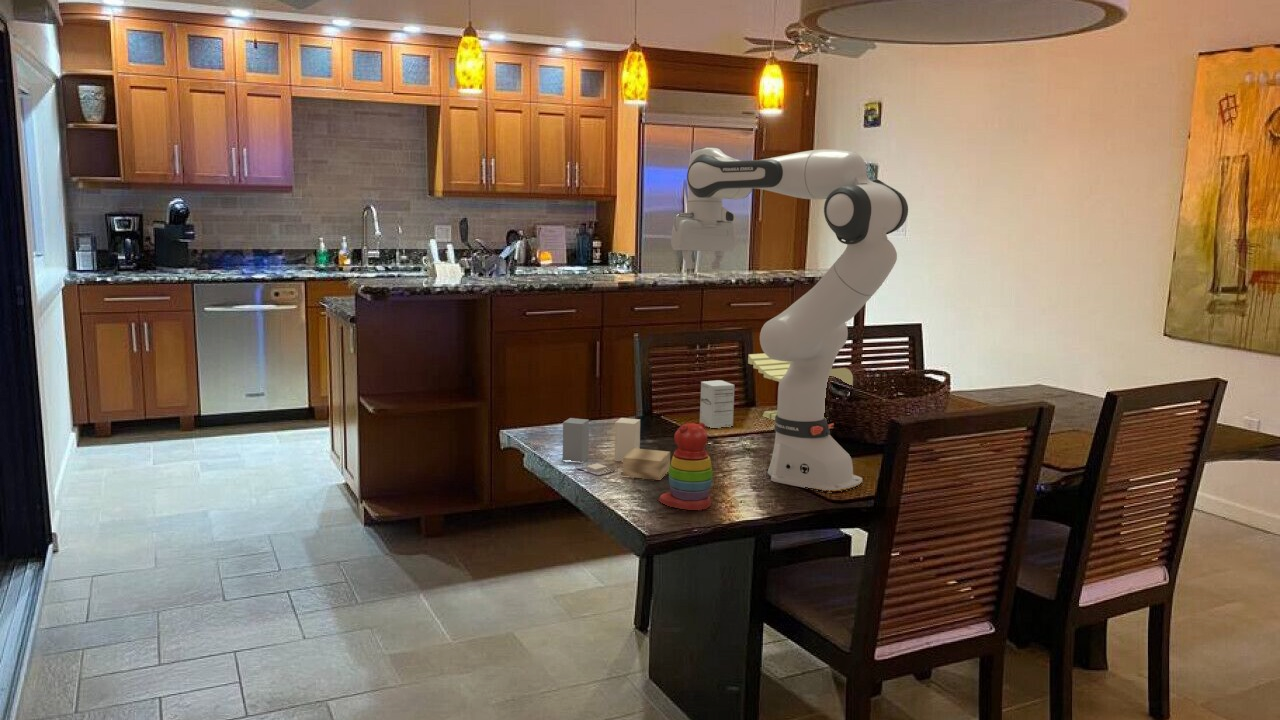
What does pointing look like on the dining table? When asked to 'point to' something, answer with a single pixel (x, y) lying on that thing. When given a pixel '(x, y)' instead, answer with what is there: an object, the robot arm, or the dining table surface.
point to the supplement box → (717, 404)
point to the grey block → (575, 439)
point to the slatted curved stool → (779, 369)
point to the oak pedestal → (646, 464)
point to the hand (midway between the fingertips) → (703, 269)
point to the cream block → (626, 437)
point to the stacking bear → (689, 470)
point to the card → (599, 467)
